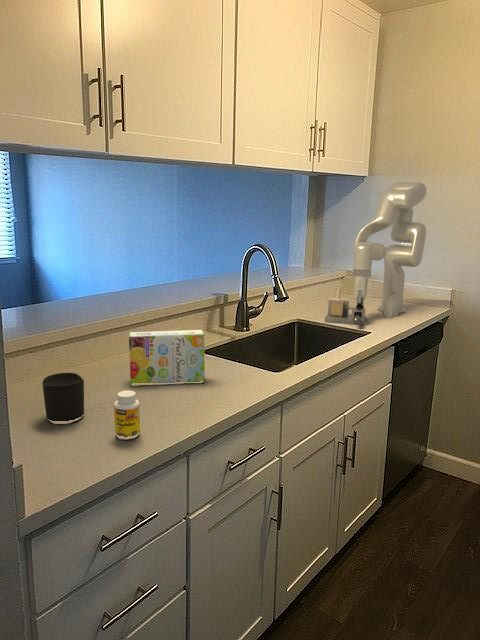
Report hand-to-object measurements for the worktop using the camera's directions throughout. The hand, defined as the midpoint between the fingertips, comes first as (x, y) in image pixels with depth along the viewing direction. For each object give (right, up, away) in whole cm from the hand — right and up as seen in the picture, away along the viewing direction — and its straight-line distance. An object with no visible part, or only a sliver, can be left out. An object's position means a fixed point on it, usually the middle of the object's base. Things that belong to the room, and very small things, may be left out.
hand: (359, 314), depth 232 cm
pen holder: (-95, -26, -104) cm, 143 cm away
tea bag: (+17, -1, +12) cm, 21 cm away
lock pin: (-3, -3, -9) cm, 10 cm away
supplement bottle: (-78, -29, -112) cm, 140 cm away
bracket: (-6, -3, +1) cm, 7 cm away
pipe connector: (-6, +2, +22) cm, 23 cm away
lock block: (-10, -1, +2) cm, 10 cm away
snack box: (-74, -21, -78) cm, 109 cm away
